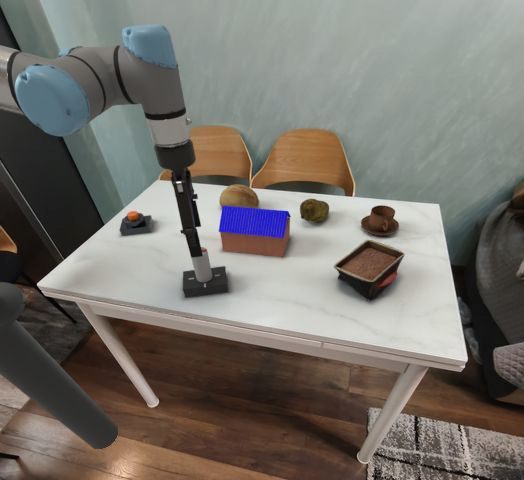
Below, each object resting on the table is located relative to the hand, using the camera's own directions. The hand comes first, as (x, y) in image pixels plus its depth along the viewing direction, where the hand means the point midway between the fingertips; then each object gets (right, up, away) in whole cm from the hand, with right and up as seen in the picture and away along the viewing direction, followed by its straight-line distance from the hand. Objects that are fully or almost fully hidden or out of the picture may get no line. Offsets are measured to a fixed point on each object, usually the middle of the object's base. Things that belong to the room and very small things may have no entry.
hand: (196, 240), depth 75 cm
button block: (-28, +16, +32) cm, 46 cm away
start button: (-28, +18, +30) cm, 45 cm away
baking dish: (+45, -8, +9) cm, 47 cm away
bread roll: (+8, +26, +39) cm, 47 cm away
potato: (+35, +18, +31) cm, 50 cm away
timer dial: (0, -7, +8) cm, 11 cm away
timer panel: (+1, -9, +11) cm, 14 cm away
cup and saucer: (+55, +13, +26) cm, 62 cm away
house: (+15, +7, +23) cm, 28 cm away
